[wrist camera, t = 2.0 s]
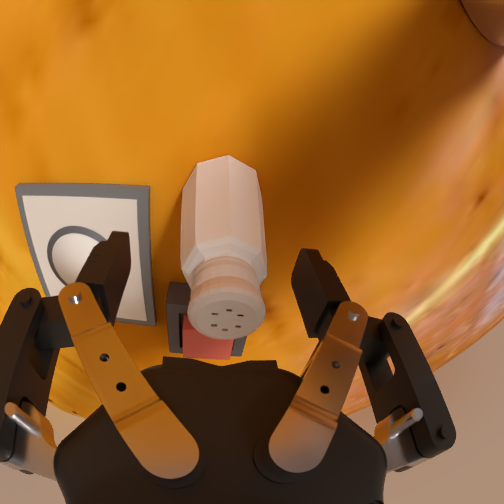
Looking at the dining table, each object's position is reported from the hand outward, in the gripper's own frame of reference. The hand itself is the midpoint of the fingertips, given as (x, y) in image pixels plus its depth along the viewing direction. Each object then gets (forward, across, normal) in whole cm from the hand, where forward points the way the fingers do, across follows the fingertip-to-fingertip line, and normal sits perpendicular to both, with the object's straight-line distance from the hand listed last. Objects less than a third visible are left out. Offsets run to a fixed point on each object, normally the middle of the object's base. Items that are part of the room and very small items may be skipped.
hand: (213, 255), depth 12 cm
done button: (+5, -1, +12) cm, 13 cm away
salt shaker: (+7, -1, 0) cm, 7 cm away
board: (+7, +10, +7) cm, 15 cm away
